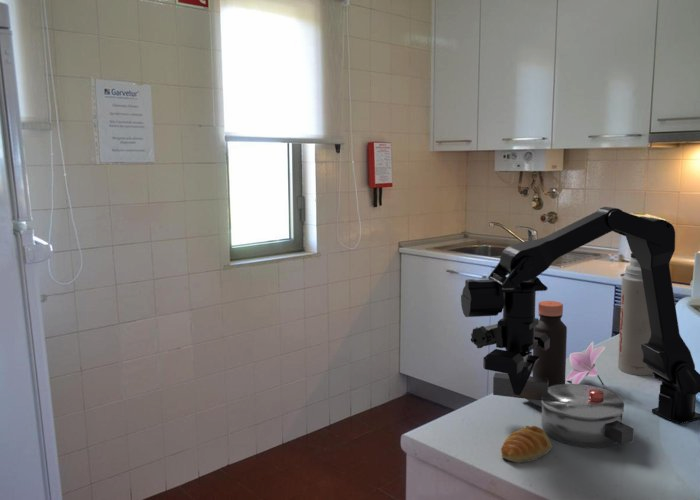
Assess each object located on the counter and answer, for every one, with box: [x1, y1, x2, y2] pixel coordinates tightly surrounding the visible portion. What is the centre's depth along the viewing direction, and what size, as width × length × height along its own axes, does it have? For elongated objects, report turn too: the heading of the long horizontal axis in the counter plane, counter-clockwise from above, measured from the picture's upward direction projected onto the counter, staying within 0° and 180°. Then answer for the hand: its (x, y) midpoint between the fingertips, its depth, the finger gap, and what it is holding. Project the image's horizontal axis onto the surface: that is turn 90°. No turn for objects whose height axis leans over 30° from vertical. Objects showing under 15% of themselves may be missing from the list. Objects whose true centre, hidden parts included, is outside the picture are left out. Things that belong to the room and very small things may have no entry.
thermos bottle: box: [617, 252, 653, 376], centre depth 138 cm, size 8×8×28 cm
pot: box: [526, 399, 635, 449], centre depth 113 cm, size 14×26×5 cm, turn 24°
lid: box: [492, 372, 625, 421], centre depth 112 cm, size 14×23×4 cm, turn 69°
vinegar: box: [531, 300, 568, 387], centre depth 127 cm, size 7×7×20 cm
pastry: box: [500, 425, 553, 464], centre depth 103 cm, size 9×7×4 cm
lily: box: [565, 341, 606, 385], centre depth 132 cm, size 12×12×10 cm
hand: (517, 394), depth 111 cm, fingers closed
